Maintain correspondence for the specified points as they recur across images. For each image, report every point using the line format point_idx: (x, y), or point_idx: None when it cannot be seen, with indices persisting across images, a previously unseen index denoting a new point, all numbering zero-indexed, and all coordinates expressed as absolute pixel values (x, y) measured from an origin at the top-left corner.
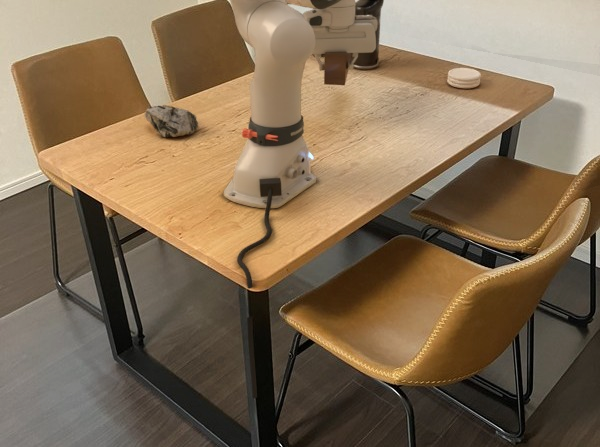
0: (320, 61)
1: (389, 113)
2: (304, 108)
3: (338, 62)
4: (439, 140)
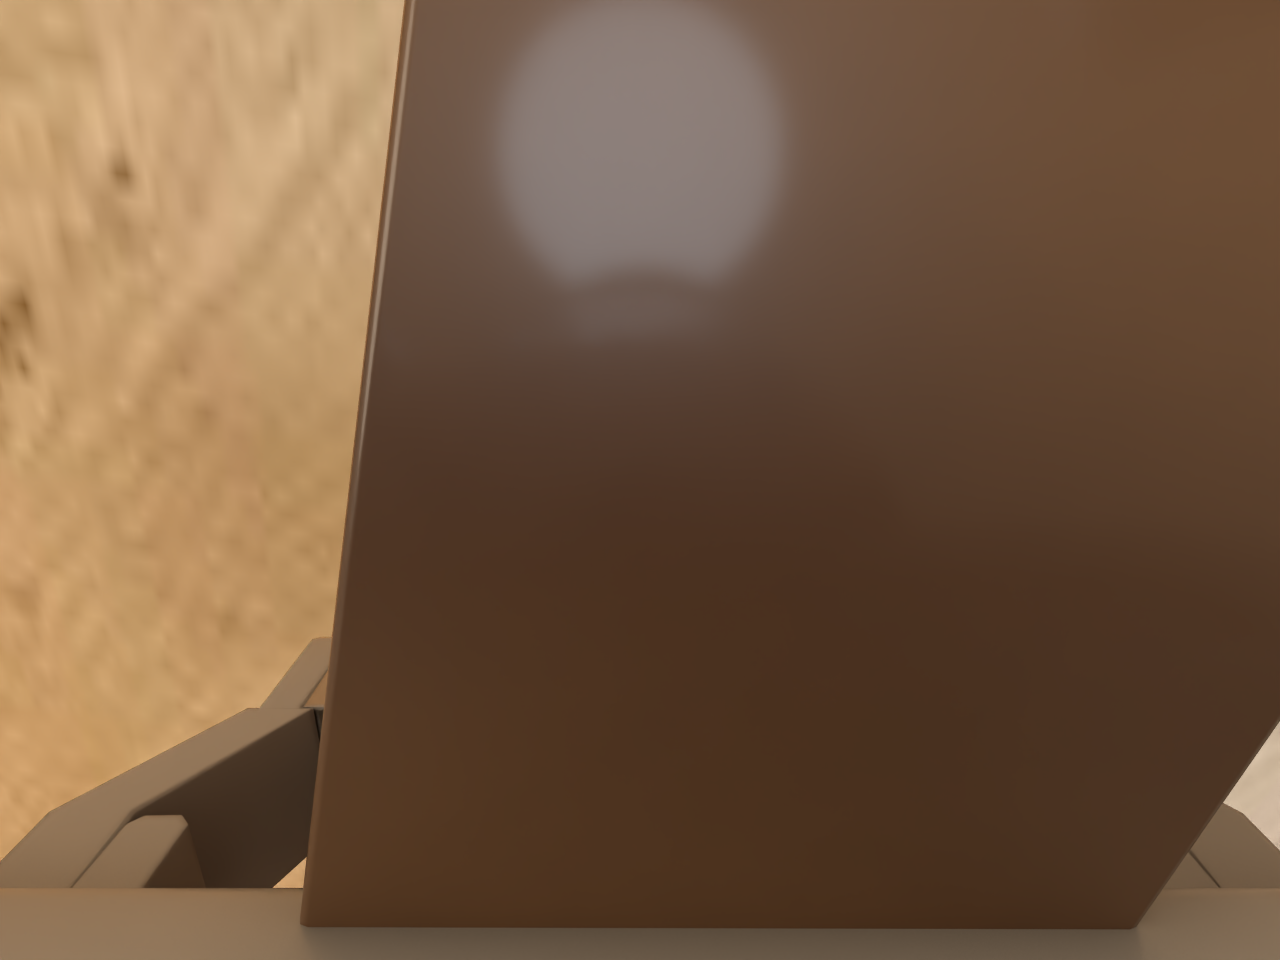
0: (268, 887)
1: None
2: (384, 64)
3: None
4: (1256, 806)
